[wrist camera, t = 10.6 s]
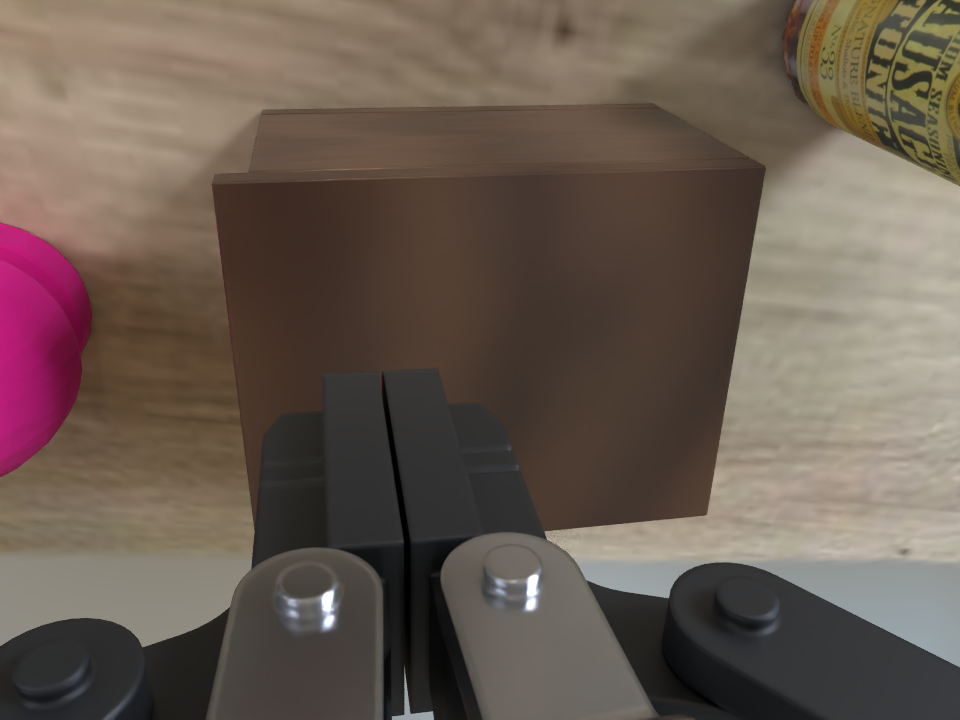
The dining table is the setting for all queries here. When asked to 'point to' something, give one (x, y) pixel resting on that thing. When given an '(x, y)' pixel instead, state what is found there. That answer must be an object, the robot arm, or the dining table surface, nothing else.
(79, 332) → the pepper mill
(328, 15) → the dining table surface
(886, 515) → the dining table surface
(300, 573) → the robot arm
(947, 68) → the sauce bottle
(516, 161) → the box
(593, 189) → the lid
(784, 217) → the dining table surface
